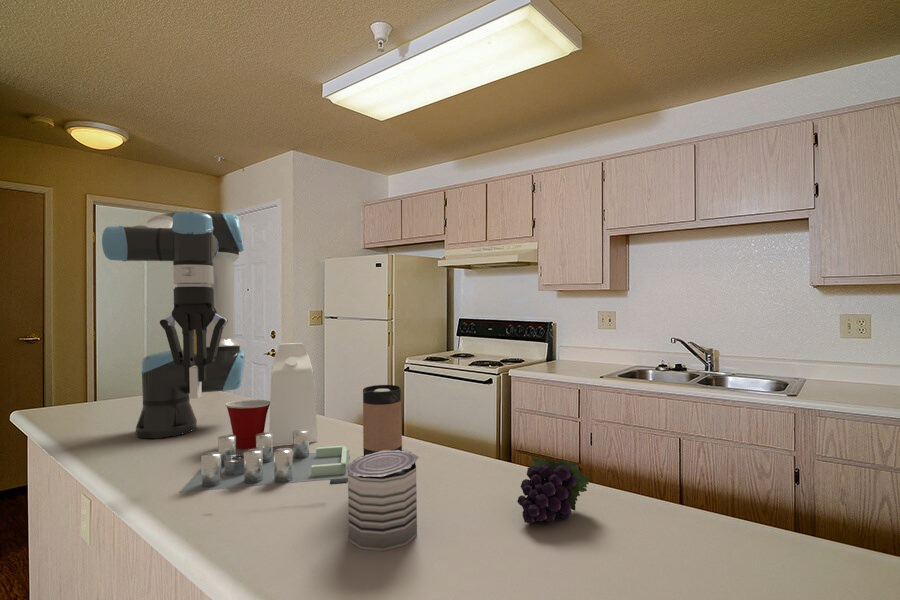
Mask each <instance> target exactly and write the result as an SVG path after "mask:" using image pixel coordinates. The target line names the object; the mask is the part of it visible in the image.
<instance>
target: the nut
mask: <svg viewBox="0 0 900 600" xmlns="http://www.w3.org/2000/svg"><path fill="white" fill-rule="evenodd" d="M224 463H225V475H230V476H237V475H241V474H244V453H239V454H236V455H233V456H229V457H227V458H226V459H225V461H224Z"/></svg>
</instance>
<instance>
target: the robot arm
mask: <svg viewBox="0 0 900 600" xmlns="http://www.w3.org/2000/svg"><path fill="white" fill-rule="evenodd" d="M242 234H243V233H242V228H241V222H240V218H239V217H238V215H236V214H233V213H228V212H227V213H225V212H209V211H208V212H205V211H202V212H201V211H184V210H183V211H181V210H180V211H172V212H168V213H163V214H159V215H155V216H152V217H151V218H149V220H147V222H145V223H141V224H138V225H134V226H133V225H132V226H123V225H118V226H117V225H116V226H106V227H105V228H104V230H103V233H102V236H101V245H102V246H101V248H102V252H103V255H104V257H105V258H106V259H108V260H110V261H120V262H121V261H122V262H159V261H160V262H172V264H173V265H172V271H173V284H174V285H176V287H174V288H173V309H172V310H171V315H170V316H167V317H166V318H164V319H160V320H159V325H160V326H161V327H162V329H163V330H164V332H165V336H166V339H167V342H168V345H169V349H170V350H166V351H160V352H156V353H152V354H148V355H146V356H144V357H143V359H142V362H141V364H142V365H141V366H142V368H141V373H140V374H141V384H142V386H141V387H142V388H141V389H142V408H141V412H140V415H139V417H138V421H137V422H136V423H137V424H136V426H135V427H136V428H135V436H136V437H137V438H139V437H140V439H145V438H155V439H163V438H162V437H166V438H169V437H168V436H172V437H175V436H174V435H177V436H180V435H179V434H182V433H185V434H187V433H186V432H188V433H190V432H189V431H191V430H193V429H195V428H196V427H197V424H198V423H197V421H198V420H197V418H196V415H195V412H194V410H193V407H192V405H191V402H190V399H191V400H192V399H199V398H201V397H202V395H203V394H202V393H214V392H215V393H216V392H221V393H222V392H226V391H227V392H228V391H232V390H233V391H235V390H238V389H239V388H240V387H241V386H242V382H243V381H242V380H243V377H244V376H243V375H244V370H245V358H246V352H245V351H244V350H243V349H242V350H241V345H240V343H238V342H237V341H236V340H235V287H234V285H235V284H234V283H235V277H234V276H235V272H234V265H235V264H234V263H235V262H236V261H237V260H238V259H239V258H240V253H242V252H244V250H245V249H244V241H243V240H244V239H243V235H242ZM176 324H178V325H179V327H180V328H181V334H182V341H183V342H182V346H181V343H180V340H179V336H178V332H177V329H176V327H175V326H176ZM194 332H195V335H196V352H194ZM197 428H198V427H197ZM197 428H196V429H197ZM196 429H195V430H196ZM193 431H194V430H193ZM191 432H192V431H191ZM182 435H183V434H182Z"/></svg>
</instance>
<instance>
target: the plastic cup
mask: <svg viewBox="0 0 900 600" xmlns="http://www.w3.org/2000/svg"><path fill="white" fill-rule="evenodd" d="M224 405H225V407H226V409H227V412H228V417H229V421H230V422H229V423H230V427H231V433H232V435H235V436H236V450H244V451H245V450H249V449H256V435H257V434H259V433H265V427H266V421H267V416H268V415H267V414H268V411H269V409H270V400H268V399H267V400H266V399H265V400H264V399H243V400H241V399H240V400H234V401H229V402H225V404H224Z"/></svg>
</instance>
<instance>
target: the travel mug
mask: <svg viewBox="0 0 900 600" xmlns="http://www.w3.org/2000/svg"><path fill="white" fill-rule="evenodd" d="M362 416H363V417H362V418H363V419H362V421H363V422H362V426H363V427H362V429H363V430H362V433H363V434H362V436H363V437H362V439H363V440H362V443H363V445H362V446H363V447H362V449H363V456H365V455H369V454H372V453H376V452H379V451H391V450H403V432H402V429H403V428H402V425H403V424H402V423H403V422H402V388H401V387H400V386H398V385H394V384H378V385H377V384H376V385H375V384H374V385H369V386H366V387H364V388H363V389H362Z"/></svg>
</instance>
